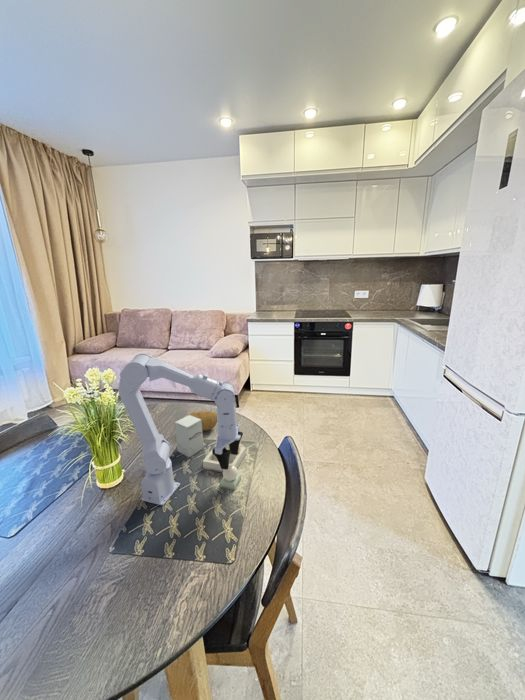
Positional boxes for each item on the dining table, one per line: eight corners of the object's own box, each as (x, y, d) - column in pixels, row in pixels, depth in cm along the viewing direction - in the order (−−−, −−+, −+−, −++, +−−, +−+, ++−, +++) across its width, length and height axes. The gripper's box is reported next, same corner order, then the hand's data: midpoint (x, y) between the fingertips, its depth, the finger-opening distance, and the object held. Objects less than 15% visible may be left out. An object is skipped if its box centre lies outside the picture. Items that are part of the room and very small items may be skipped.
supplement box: (189, 458, 110) (186, 427, 107) (177, 451, 115) (173, 421, 111) (204, 448, 116) (201, 419, 113) (192, 442, 120) (189, 414, 117)
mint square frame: (235, 489, 94) (234, 484, 93) (220, 486, 95) (220, 481, 94) (240, 479, 98) (240, 474, 98) (227, 476, 100) (226, 471, 99)
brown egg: (238, 458, 106) (237, 446, 105) (225, 456, 107) (224, 444, 106) (243, 450, 110) (242, 439, 109) (231, 448, 112) (230, 437, 110)
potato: (189, 423, 135) (188, 407, 133) (220, 423, 134) (219, 407, 132) (183, 435, 125) (181, 418, 123) (216, 435, 125) (215, 418, 123)
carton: (233, 474, 101) (233, 466, 100) (203, 468, 104) (202, 461, 103) (246, 454, 111) (245, 447, 110) (217, 449, 115) (217, 442, 114)
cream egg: (234, 485, 93) (233, 472, 92) (220, 482, 95) (219, 469, 93) (240, 475, 98) (239, 463, 96) (226, 473, 99) (226, 460, 98)
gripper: (229, 436, 83) (232, 478, 87) (247, 413, 96) (249, 449, 100) (206, 433, 85) (210, 473, 89) (227, 410, 98) (229, 446, 102)
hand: (229, 460), depth 94 cm, fingers open, 7 cm apart
